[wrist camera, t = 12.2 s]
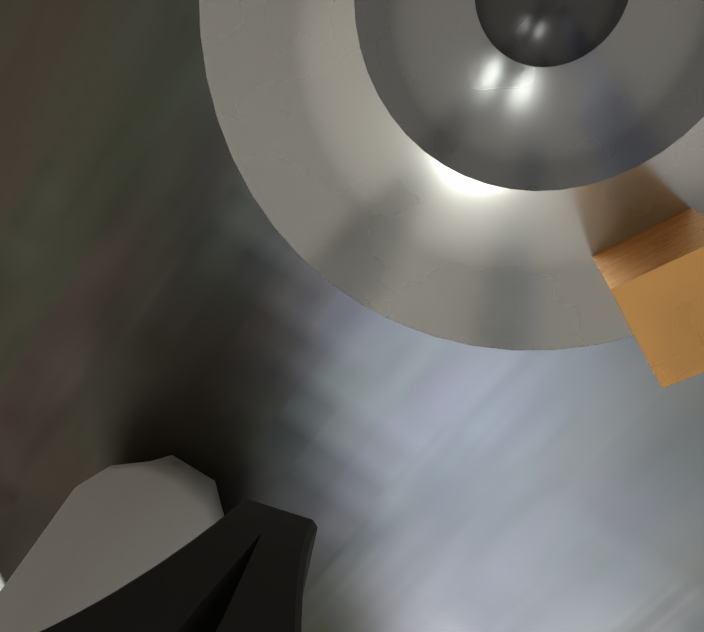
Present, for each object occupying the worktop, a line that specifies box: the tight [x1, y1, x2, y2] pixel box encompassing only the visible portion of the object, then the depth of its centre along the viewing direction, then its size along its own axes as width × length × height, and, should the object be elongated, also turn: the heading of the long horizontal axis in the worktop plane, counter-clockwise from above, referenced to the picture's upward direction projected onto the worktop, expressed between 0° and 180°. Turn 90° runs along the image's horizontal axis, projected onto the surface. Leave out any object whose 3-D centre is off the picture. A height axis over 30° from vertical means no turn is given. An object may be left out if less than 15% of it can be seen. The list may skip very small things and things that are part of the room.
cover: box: [354, 0, 704, 191], centre depth 13 cm, size 7×7×4 cm
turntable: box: [199, 0, 704, 388], centre depth 14 cm, size 16×16×4 cm
